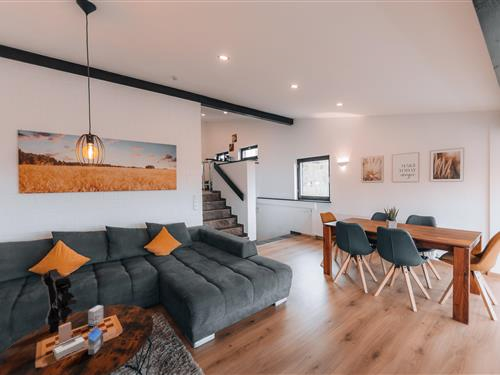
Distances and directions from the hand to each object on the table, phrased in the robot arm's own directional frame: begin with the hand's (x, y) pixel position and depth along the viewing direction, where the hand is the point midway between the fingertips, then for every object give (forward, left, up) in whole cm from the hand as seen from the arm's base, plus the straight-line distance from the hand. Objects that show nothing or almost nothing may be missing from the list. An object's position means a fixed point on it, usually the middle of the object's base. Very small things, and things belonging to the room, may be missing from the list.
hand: (62, 320), depth 153 cm
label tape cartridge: (+28, +6, -13) cm, 32 cm away
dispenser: (+14, -2, -13) cm, 19 cm away
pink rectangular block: (+7, -1, -13) cm, 15 cm away
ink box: (+1, +20, -13) cm, 24 cm away
